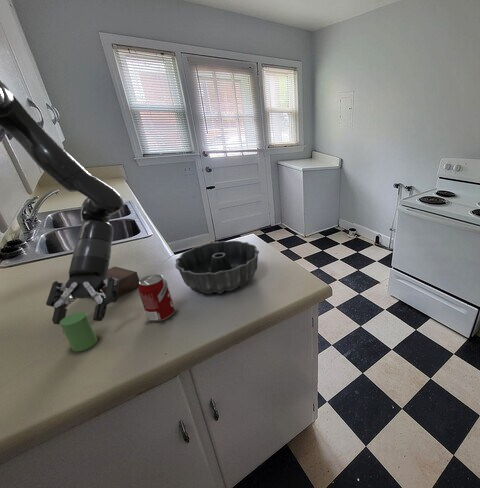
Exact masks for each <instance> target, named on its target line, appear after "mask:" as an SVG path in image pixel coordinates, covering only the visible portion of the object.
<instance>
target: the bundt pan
mask: <svg viewBox="0 0 480 488" xmlns="http://www.w3.org/2000/svg"><path fill="white" fill-rule="evenodd" d="M259 253H260V251H259V250H258V248H257V246H256V245H254V244H251V243H249V242H248V241H245V242H244V241H240V240H230V241H229V240H228V241H226V240H221V241H218V242H217V241H215V242H214V241H213V242H208V243H205V244H202V245H199V246H194V247H192V248H191V249H189V250H186V251H184V252H182V253H181V254H180V256H179V257H177V258H175V264H174V266H175V269H177V270H178V272H179V274H180V276H181V279H182V281H183V282H184V284H185V285H186V286H187V287H189V288H190V290H191V291H193V292H196V293H203V294H213V293H217V294H221V295H222V293H223V292H224V291H225V292H230V291H234V290H236V289H237V288H238V287H244V286H245V285H246V284H247V283H248V282H249V281H251V280H252V279H253V277H255V273H256V271H257V270H258V269H257V268H258V259H259Z"/></svg>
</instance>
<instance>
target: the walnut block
mask: <svg viewBox="0 0 480 488" xmlns="http://www.w3.org/2000/svg"><path fill="white" fill-rule="evenodd" d="M110 277H112V278H115V279H117V280H118V281H119V284H118V294H117V298H118V297H120V296H122V295H124V294H125V293H128V292H130V291H131V290H133V289H135V288H138V287H139V285H140V284H139V281H140V278H139V274H138V272H137V271H135V270H131V269H127V268H122V267H120V266H112V267H110V268H108V272H107V276H106V277H105V279H109V278H110ZM101 290H102V291H103V293H104V294H105V297H106V291H107V286H106V285H105V286H104V287H103V288H102V289H101ZM91 299H94V298H93V297H92V298H91Z"/></svg>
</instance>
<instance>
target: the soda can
mask: <svg viewBox="0 0 480 488" xmlns="http://www.w3.org/2000/svg"><path fill="white" fill-rule="evenodd" d="M139 284H140V285H139V286H137V291H138V294H139V297H140V300H141V303H142V306H143V309H144V312H145V315H146V319H147V320H148V321H149V322H162V321H164V320H167V319H169V318H170V317H171V316H172V315H174V313H175V306H174V303H173V299H172V296H171V292H170V289H169V285H168V281H167V280H166V279H165V278H164V276H163V275H162V274H160V273H159V274H158V273H157V274H149V275H147V276H143V277H142V278H141V279H139Z"/></svg>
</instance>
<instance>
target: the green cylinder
mask: <svg viewBox="0 0 480 488" xmlns="http://www.w3.org/2000/svg"><path fill="white" fill-rule="evenodd" d="M60 327H61V329H62V331H63V334H64V335H65V337H66V339H67V342H68V343H69V345H70V348H71V350H72V351H73V352H82V351H86V350H88V349H90V348H92V347H94V346H95V345H96V344H97V342H98V337H97V335H96V333H95V330H94V328H93V326H92V324H91V322H90V320H89V317H88V315H87V313H86V312H84V311H80V312H79V311H78V312H74V313H71V314H69V315H66V316H65V318H63V319H62V320H61V321H60Z"/></svg>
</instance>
